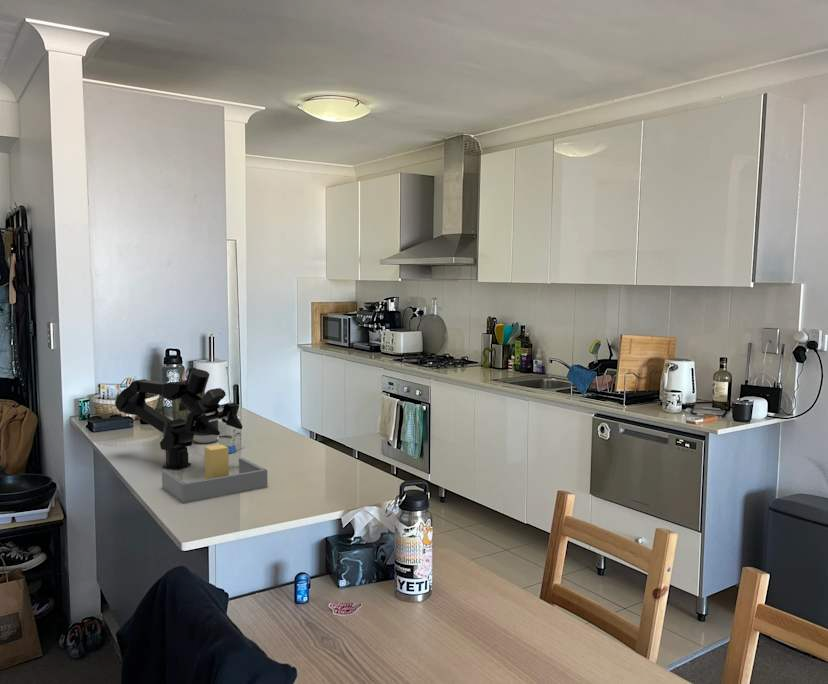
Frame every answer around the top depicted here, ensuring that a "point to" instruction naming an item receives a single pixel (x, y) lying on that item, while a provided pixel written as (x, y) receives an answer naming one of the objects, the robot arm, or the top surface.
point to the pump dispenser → (206, 435)
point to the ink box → (229, 436)
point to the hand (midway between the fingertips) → (230, 430)
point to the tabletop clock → (175, 406)
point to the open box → (216, 483)
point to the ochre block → (216, 461)
